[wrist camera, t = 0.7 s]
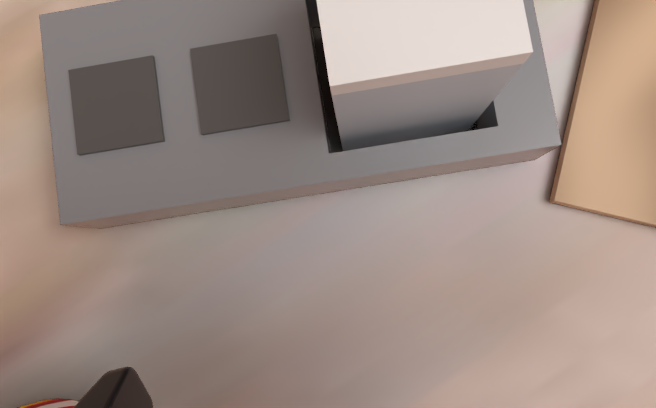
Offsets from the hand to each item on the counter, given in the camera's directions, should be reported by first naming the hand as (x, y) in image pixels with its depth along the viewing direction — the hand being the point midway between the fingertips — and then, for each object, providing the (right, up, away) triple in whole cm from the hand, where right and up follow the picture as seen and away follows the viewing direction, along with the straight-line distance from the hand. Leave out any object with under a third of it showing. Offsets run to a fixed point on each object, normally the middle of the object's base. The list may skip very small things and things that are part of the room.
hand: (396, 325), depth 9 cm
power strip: (-2, +6, +14) cm, 15 cm away
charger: (+2, +7, +13) cm, 15 cm away
